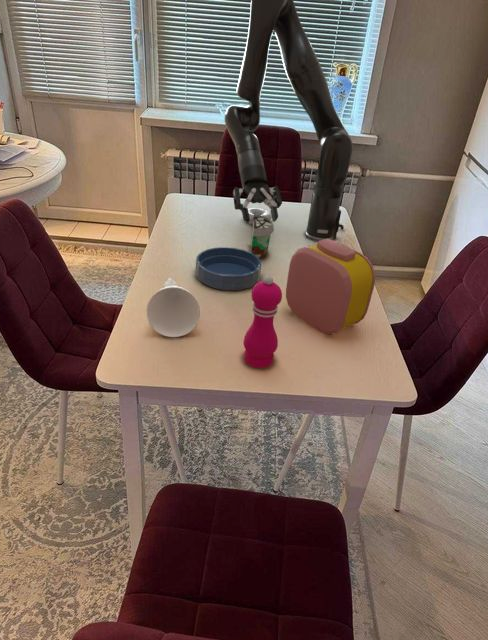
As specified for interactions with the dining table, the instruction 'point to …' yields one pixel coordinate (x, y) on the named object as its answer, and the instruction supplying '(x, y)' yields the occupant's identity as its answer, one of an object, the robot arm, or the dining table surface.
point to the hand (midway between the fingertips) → (261, 221)
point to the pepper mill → (262, 324)
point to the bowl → (228, 268)
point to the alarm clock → (329, 285)
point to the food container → (261, 235)
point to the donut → (258, 213)
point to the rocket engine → (173, 310)
